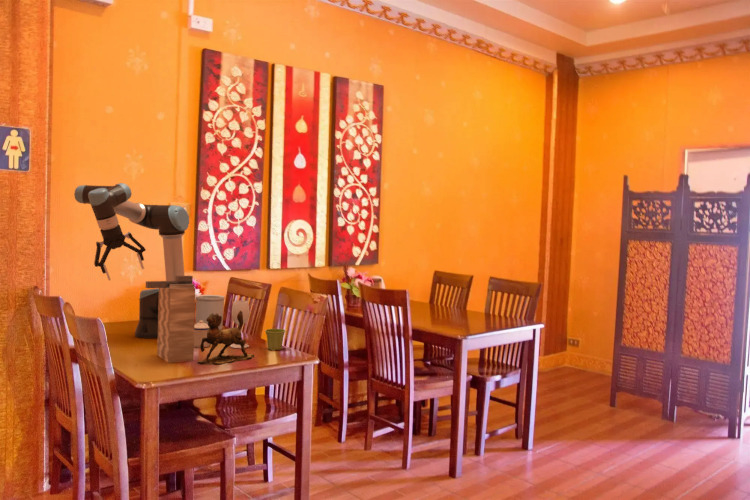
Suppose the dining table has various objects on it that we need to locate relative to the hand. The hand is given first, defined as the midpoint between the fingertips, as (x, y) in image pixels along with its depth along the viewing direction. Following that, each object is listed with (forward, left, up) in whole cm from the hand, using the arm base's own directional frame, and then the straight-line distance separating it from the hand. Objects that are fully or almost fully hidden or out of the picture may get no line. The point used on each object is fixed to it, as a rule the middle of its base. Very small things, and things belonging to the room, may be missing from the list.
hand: (126, 273), depth 251 cm
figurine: (+26, +34, -35) cm, 55 cm away
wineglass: (+2, +50, -35) cm, 61 cm away
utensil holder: (-47, +54, -35) cm, 79 cm away
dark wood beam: (+15, +13, -4) cm, 21 cm away
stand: (+12, +17, -34) cm, 40 cm away
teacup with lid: (-8, +35, -35) cm, 50 cm away
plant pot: (+14, +62, -35) cm, 73 cm away
